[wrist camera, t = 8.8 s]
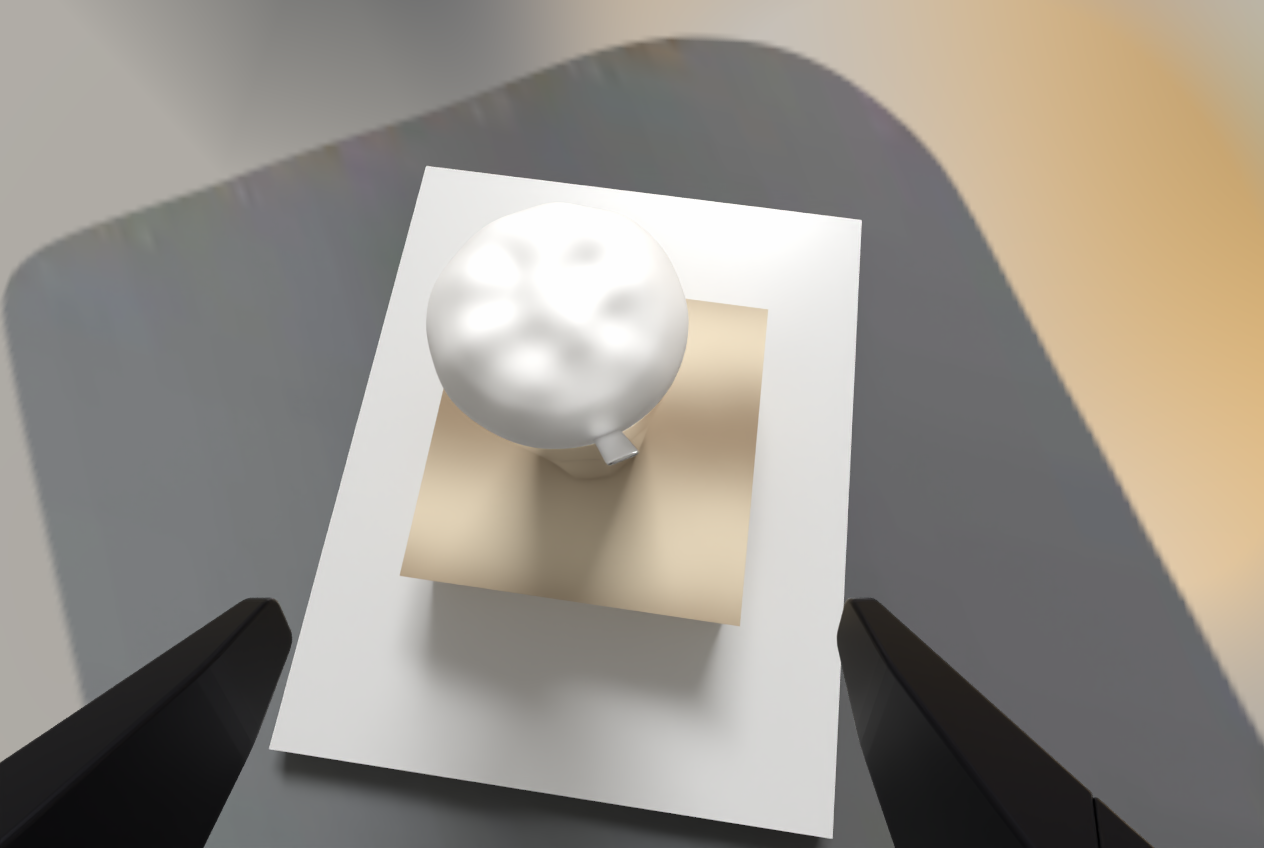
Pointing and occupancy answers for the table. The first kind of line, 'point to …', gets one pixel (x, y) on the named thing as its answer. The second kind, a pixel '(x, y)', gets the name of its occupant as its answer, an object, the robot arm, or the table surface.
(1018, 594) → the table surface
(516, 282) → the milkshake
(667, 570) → the plinth
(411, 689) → the baseplate
